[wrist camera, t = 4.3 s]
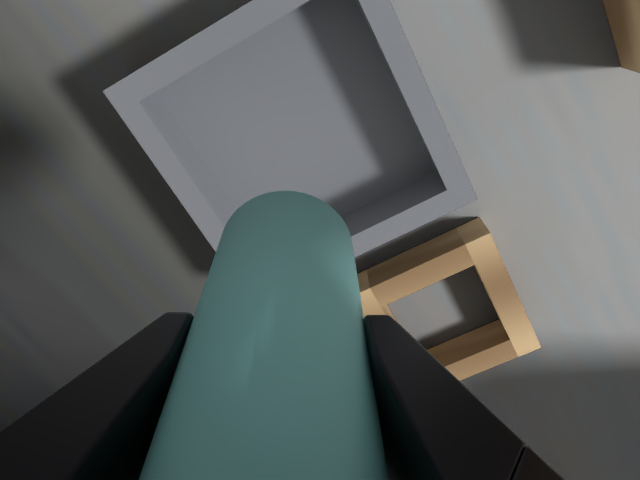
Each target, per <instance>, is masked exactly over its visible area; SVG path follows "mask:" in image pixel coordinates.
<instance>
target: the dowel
mask: <svg viewBox="0 0 640 480" xmlns="http://www.w3.org/2000/svg"><path fill="white" fill-rule="evenodd" d="M363 320H364V316H363V309H362V303H361V296H360V289H359V283H358V276H357V270H356V263H355V257H354V250H353V244H352V238H351V235H350V232H349V229H348V227H347V225H346V223H345V222H344V220H343V219H342V217H341V216H340V215H339V214H338V213H337V212H336V211H335V210H334V209H333V208H332V207H331V206H330V205H328V204H327V203H325V202H324V201H322V200H320V199H318V198H316V197H314V196H312V195H309V194H306V193H301V192H297V191H275V192H269V193H265V194H262V195H259V196H257V197H255V198H252V199H250V200H249V201H247V202H246V203H244V204H243V205H242V206H240V207H239V208H238V209H237V210H236V211H235V212H234V213H233V214H232V216H231V217H230V219H229V220H228V221H227V223H226V225H225V227H224V230H223V233H222V236H221V239H220V242H219V245H218V247H217V250H216V253H215V256H214V259H213V262H212V265H211V268H210V271H209V274H208V277H207V280H206V283H205V286H204V289H203V292H202V295H201V297H200V300H199V303H198V306H197V309H196V312H195V315H194V318H193V321H192V324H191V327H190V330H189V333H188V336H187V339H186V342H185V345H184V348H183V350H182V353H181V356H180V359H179V362H178V365H177V368H176V371H175V374H174V377H173V380H172V383H171V386H170V389H169V392H168V395H167V398H166V401H165V403H164V406H163V409H162V412H161V415H160V418H159V421H158V424H157V427H156V430H155V433H154V436H153V439H152V442H151V445H150V448H149V451H148V453H147V456H146V459H145V462H144V465H143V468H142V471H141V474H140V477H139V480H389V479H388V473H387V466H386V460H385V453H384V446H383V440H382V433H381V427H380V420H379V414H378V408H377V401H376V395H375V390H374V385H373V380H372V374H371V368H370V361H369V355H368V348H367V341H366V335H365V328H364V322H363Z"/></svg>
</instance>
